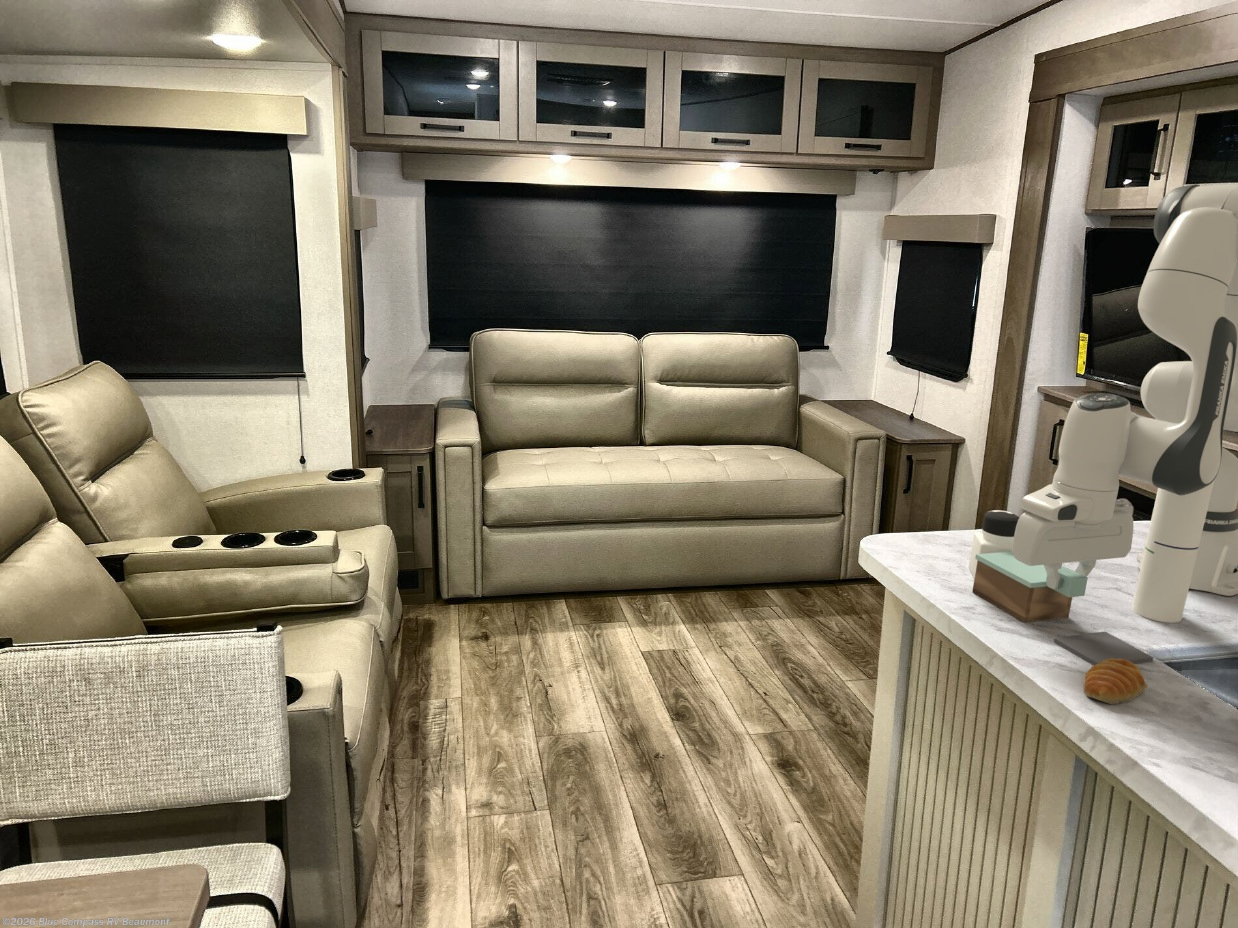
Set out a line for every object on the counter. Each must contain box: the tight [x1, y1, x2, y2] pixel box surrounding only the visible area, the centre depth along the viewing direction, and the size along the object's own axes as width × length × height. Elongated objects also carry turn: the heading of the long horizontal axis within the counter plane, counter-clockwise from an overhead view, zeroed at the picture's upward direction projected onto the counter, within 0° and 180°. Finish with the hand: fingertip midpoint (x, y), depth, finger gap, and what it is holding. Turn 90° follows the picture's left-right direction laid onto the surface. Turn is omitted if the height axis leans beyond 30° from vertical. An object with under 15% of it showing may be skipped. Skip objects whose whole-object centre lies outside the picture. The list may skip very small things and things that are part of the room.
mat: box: [1052, 631, 1154, 666], centre depth 132 cm, size 10×9×1 cm
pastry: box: [1083, 658, 1148, 705], centre depth 120 cm, size 9×7×4 cm
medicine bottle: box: [968, 509, 1020, 579], centre depth 157 cm, size 7×7×12 cm
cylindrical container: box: [1131, 479, 1215, 624], centre depth 144 cm, size 7×7×25 cm
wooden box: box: [971, 561, 1073, 623], centre depth 147 cm, size 9×12×6 cm
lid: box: [975, 551, 1089, 598], centre depth 144 cm, size 10×17×3 cm, turn 19°
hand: (1065, 586), depth 138 cm, fingers closed on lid, 3 cm apart
